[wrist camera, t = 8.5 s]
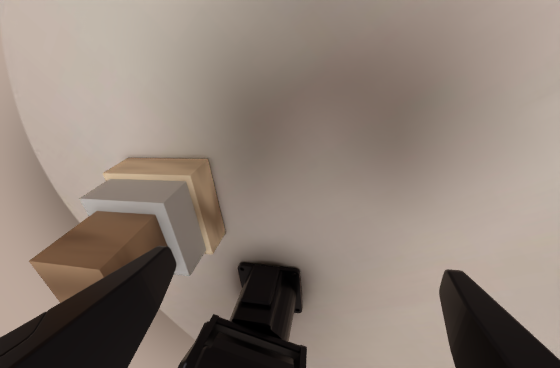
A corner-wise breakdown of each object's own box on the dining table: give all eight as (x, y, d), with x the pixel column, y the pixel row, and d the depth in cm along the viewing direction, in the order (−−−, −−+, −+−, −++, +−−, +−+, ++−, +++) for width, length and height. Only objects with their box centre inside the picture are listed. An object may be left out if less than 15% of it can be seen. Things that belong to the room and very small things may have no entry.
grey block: (206, 249, 24) (189, 276, 21) (139, 243, 25) (116, 267, 23) (186, 181, 20) (163, 203, 18) (109, 178, 22) (79, 198, 20)
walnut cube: (175, 266, 21) (132, 326, 17) (122, 260, 22) (69, 315, 18) (155, 214, 19) (99, 269, 14) (96, 210, 20) (29, 260, 16)
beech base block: (225, 232, 27) (212, 254, 24) (155, 227, 28) (136, 246, 26) (207, 158, 23) (190, 175, 20) (127, 157, 24) (102, 173, 22)
